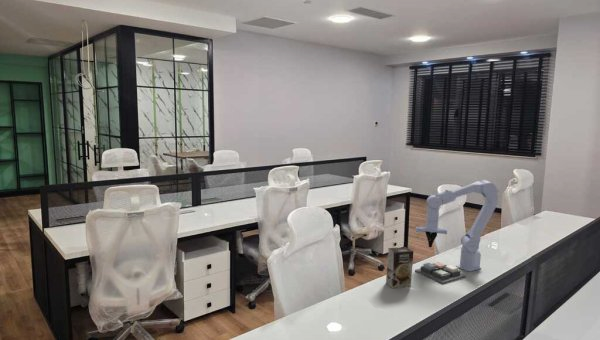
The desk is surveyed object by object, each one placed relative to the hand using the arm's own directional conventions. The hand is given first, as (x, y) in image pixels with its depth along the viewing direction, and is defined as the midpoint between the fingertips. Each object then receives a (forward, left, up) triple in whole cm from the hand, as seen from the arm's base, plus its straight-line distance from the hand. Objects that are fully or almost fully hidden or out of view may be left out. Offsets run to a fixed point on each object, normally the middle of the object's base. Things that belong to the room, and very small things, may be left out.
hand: (430, 246), depth 202 cm
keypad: (+5, +11, -9) cm, 15 cm away
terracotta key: (+2, +8, -8) cm, 11 cm away
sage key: (+9, +14, -8) cm, 19 cm away
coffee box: (+31, +10, -10) cm, 34 cm away
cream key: (+1, +15, -7) cm, 16 cm away
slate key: (+8, +7, -7) cm, 13 cm away
